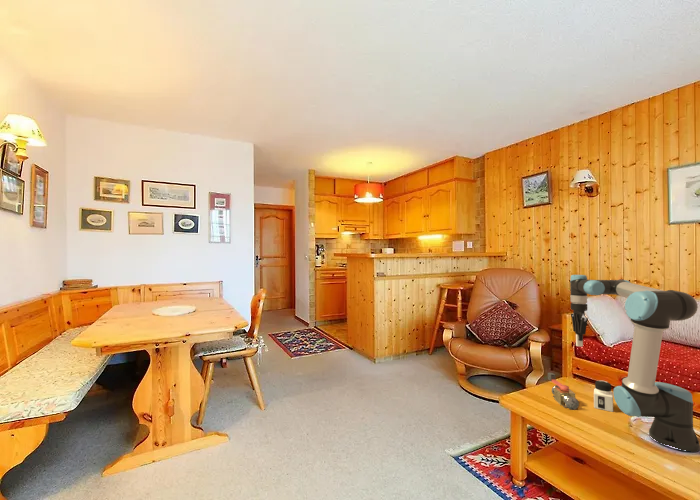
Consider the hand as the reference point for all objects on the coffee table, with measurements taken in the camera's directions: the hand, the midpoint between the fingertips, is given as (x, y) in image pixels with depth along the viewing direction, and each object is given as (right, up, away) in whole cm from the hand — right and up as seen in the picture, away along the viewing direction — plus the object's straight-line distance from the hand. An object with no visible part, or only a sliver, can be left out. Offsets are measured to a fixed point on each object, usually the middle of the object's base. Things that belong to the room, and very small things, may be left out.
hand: (579, 346), depth 181 cm
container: (+5, -29, -11) cm, 31 cm away
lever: (-12, -22, 0) cm, 25 cm away
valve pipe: (-12, -28, -6) cm, 31 cm away
